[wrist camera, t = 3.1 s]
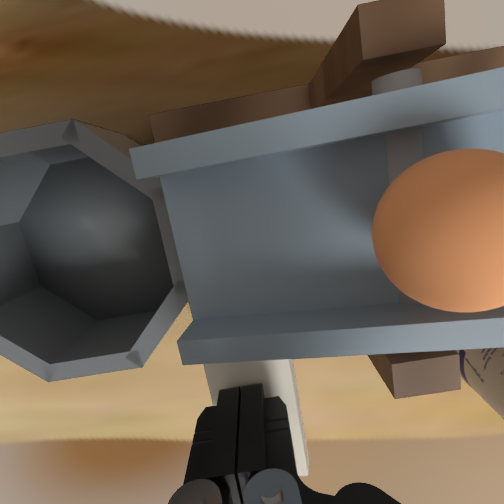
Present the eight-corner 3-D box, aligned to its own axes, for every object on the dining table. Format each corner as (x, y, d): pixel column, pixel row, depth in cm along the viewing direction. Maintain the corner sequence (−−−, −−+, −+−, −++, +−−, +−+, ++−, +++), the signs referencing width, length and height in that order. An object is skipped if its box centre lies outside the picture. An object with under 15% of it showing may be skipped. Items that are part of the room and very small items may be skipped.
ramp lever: (658, 29, 9) (981, -97, 5) (624, 427, 12) (806, 583, 7) (177, 135, 12) (98, 120, 8) (241, 430, 15) (210, 541, 11)
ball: (543, 140, 5) (332, 171, 7) (540, 365, 5) (351, 319, 8) (583, 126, 7) (408, 155, 9) (576, 290, 7) (416, 273, 10)
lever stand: (504, 50, 16) (784, -88, 7) (506, 271, 18) (719, 354, 10) (154, 118, 17) (52, 62, 8) (200, 321, 19) (158, 436, 11)
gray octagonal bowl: (182, 123, 17) (152, 102, 12) (221, 309, 19) (210, 356, 14) (-10, 160, 17) (-114, 154, 12) (51, 337, 19) (-18, 392, 15)
